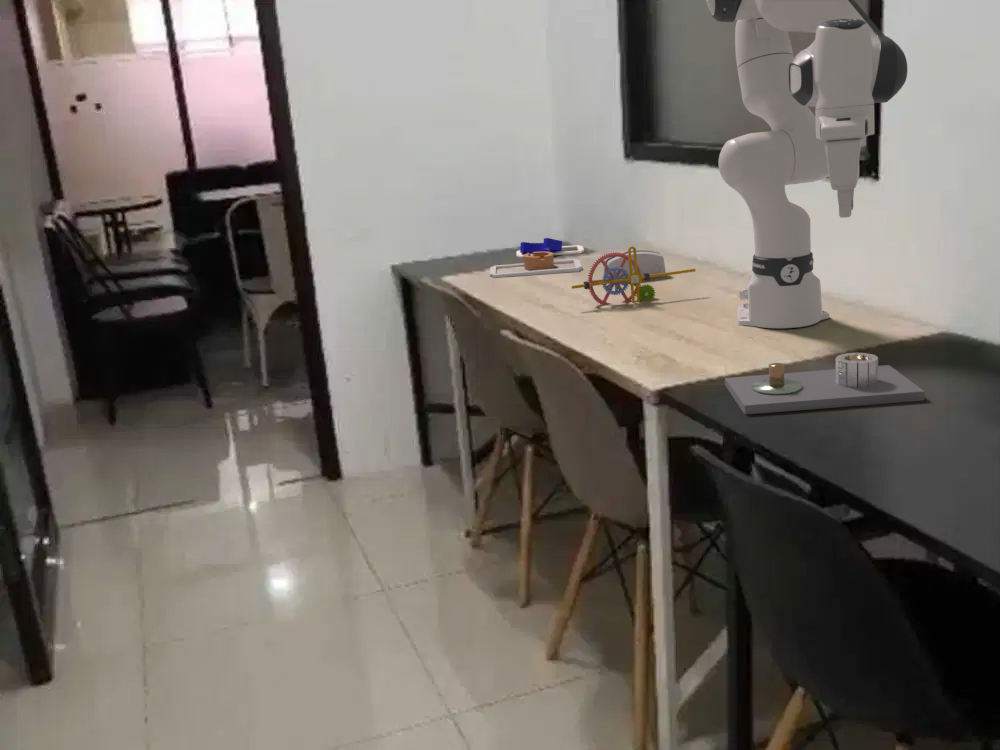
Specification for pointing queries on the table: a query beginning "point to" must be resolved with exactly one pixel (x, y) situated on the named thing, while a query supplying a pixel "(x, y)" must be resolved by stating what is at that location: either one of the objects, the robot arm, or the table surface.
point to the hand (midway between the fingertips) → (846, 213)
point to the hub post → (776, 382)
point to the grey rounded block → (639, 263)
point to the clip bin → (580, 250)
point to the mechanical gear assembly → (623, 279)
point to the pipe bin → (537, 272)
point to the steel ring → (856, 370)
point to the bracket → (538, 261)
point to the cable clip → (542, 246)
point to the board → (823, 392)
